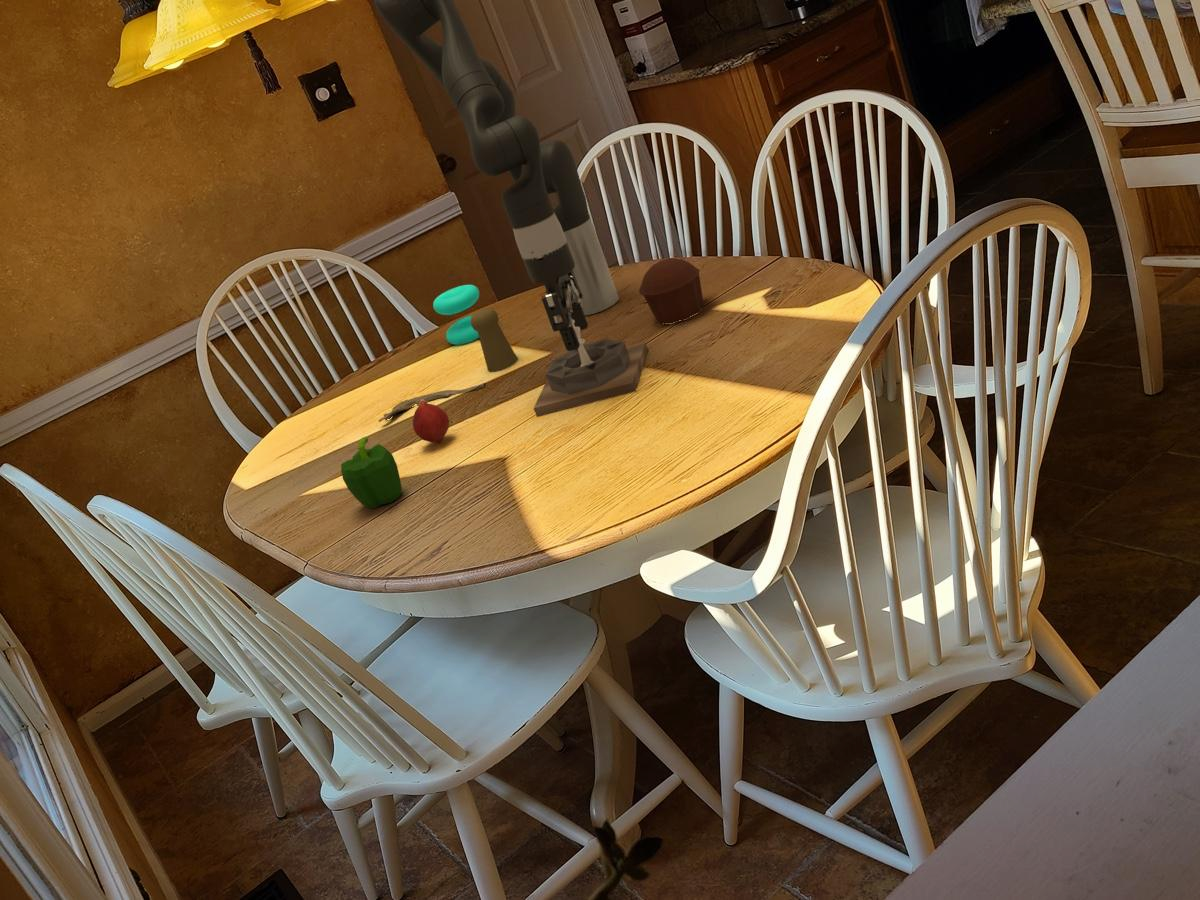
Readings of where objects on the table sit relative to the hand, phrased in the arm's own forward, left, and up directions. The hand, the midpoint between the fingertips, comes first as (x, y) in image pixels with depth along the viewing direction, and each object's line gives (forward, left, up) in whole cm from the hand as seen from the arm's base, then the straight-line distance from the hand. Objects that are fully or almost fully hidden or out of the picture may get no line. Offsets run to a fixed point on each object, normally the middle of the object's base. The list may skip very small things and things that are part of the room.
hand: (578, 339), depth 182 cm
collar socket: (0, 0, -8) cm, 8 cm away
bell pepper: (+26, -30, -8) cm, 41 cm away
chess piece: (0, 0, -6) cm, 7 cm away
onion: (+9, -26, -8) cm, 29 cm away
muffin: (-22, +13, -8) cm, 27 cm away
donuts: (-44, -35, -8) cm, 57 cm away
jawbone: (-9, -33, -9) cm, 35 cm away
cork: (-21, -22, -8) cm, 32 cm away
